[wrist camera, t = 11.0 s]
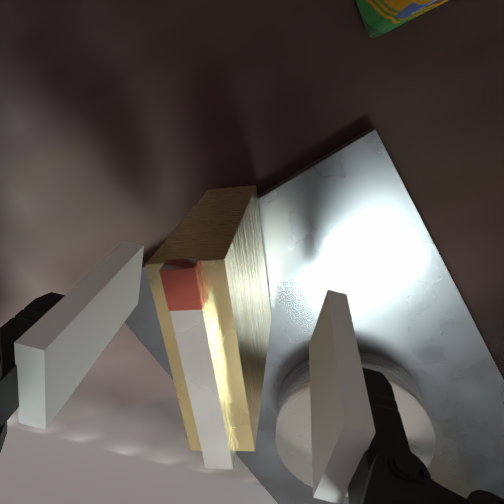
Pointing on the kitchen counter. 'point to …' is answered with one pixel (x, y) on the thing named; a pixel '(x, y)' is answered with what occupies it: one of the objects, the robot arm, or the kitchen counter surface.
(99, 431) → the kitchen counter surface
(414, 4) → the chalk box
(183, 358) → the tan striped slab
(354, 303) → the base plate
